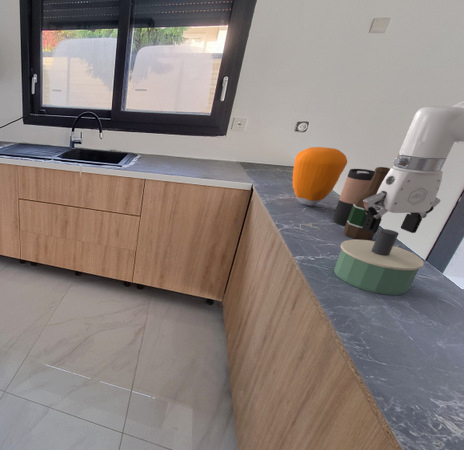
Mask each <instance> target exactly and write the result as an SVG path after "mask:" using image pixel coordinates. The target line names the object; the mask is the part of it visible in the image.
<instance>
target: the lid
mask: <svg viewBox="0 0 464 450" xmlns="http://www.w3.org/2000/svg"><path fill="white" fill-rule="evenodd" d="M399 235H400V234H399V232H397V231H396V230H392V229H388V228H380V229H379V231H378V233H377V235H376V238H375V240H356V239H347V240H344V241H342V242H341V243H340V248H341V250H343V251H344V252H345V253H347V254H348V255H350V256H352V257H354V258H356V259H358V260H361V261H363V262H366V263H369V264H373V265H376V266H380V267H385V268H390V269H396V270H417V269H419V270H421V269H422V268H423V267H424V265H425V262H424V260H423V259H422V258H421V257H420V256H418V255H417V254H415V253H413V252H412V251H409V250H406V249H404V248H402V247H399V246H395V243H396V242H397V241H396V240H397V238H398V236H399Z"/></svg>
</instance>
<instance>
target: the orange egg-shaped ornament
mask: <svg viewBox="0 0 464 450" xmlns="http://www.w3.org/2000/svg"><path fill="white" fill-rule="evenodd" d="M347 164H348V157H347V156H346V155H345V154H344V153H343V152H342V151H341V150H340V149H337V148H333V147H324V146H312V147H307V148H305V149H303V150H301V151H299V152H298V153H297V154H296V155H295V158H294V163H293V169H292V189H293V191H294V194H295V198H296V199H297V201H298V203H300V204H303V205H306V206H309V207H311V206H312V207H313V206H315V205H317V204H318V203H319V202H320V201H322V200H324V199H325V198H326V197H327V196H328V195H329V194H330V193H331V192H332V191H333V189H334V188H335V186H336V184H337V183H338V181H339V180H340V176H341V175H342V173H343V172H344V170H345V168H346V167H347Z"/></svg>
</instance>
